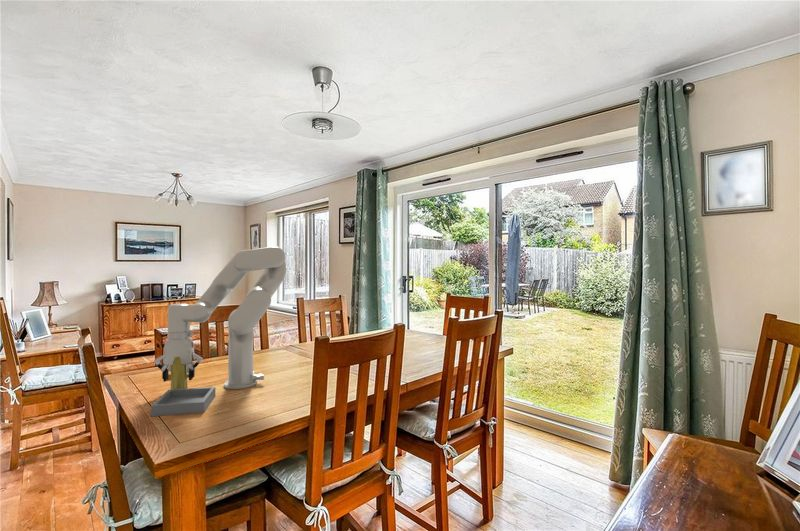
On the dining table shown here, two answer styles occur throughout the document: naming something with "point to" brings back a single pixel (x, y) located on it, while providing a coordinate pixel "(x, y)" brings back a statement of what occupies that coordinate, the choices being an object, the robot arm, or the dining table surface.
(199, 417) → the dining table surface
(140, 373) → the dining table surface
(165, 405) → the tray
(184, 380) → the vase
